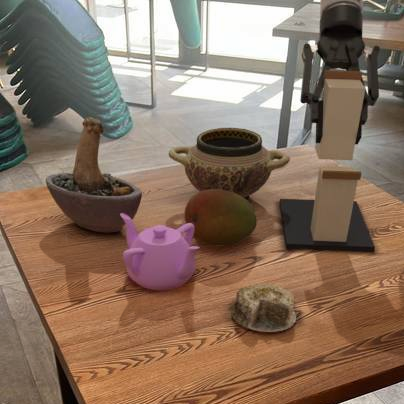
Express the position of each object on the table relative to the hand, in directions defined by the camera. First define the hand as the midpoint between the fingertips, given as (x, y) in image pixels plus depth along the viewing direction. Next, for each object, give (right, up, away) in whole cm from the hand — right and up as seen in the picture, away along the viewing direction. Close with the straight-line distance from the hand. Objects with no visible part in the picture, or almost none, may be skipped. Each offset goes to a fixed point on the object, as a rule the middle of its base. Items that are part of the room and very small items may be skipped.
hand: (338, 139), depth 100 cm
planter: (-44, -13, +10) cm, 47 cm away
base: (0, -12, +12) cm, 17 cm away
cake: (-14, -32, -12) cm, 37 cm away
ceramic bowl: (-19, -5, +21) cm, 29 cm away
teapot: (-31, -24, -3) cm, 40 cm away
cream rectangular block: (0, -1, +4) cm, 4 cm away
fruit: (-20, -17, +6) cm, 27 cm away
